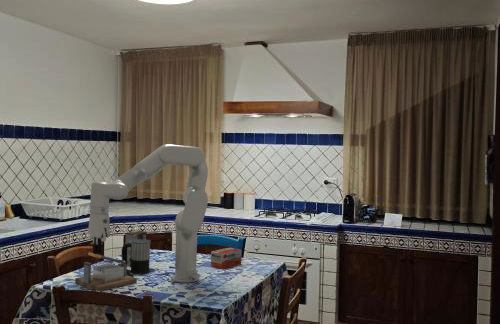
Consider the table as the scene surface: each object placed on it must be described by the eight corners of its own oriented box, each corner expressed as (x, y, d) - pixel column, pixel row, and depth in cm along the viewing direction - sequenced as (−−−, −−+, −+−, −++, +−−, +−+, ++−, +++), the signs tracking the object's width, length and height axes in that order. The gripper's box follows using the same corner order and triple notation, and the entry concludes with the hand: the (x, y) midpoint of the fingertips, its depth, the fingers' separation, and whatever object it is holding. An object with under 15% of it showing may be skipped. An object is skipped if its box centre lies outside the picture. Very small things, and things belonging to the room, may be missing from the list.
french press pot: (139, 261, 255) (139, 230, 255) (146, 263, 251) (147, 231, 251) (124, 264, 248) (125, 232, 248) (132, 266, 244) (132, 234, 244)
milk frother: (150, 269, 240) (151, 238, 239) (149, 277, 224) (149, 245, 224) (120, 269, 238) (121, 238, 237) (116, 278, 222) (117, 245, 222)
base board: (136, 283, 215) (136, 278, 215) (97, 291, 201) (97, 287, 201) (113, 275, 227) (114, 270, 227) (75, 282, 213) (75, 278, 213)
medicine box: (229, 262, 260) (230, 246, 260) (241, 264, 255) (242, 249, 255) (210, 267, 248) (210, 251, 248) (222, 269, 243) (222, 253, 243)
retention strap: (119, 262, 222) (120, 259, 222) (126, 264, 218) (127, 261, 218) (87, 255, 210) (88, 252, 210) (94, 257, 206) (95, 254, 206)
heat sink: (130, 277, 217) (130, 258, 217) (92, 284, 203) (92, 265, 203) (117, 272, 224) (118, 254, 223) (79, 280, 210) (80, 260, 210)
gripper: (116, 212, 208) (114, 255, 208) (98, 208, 218) (96, 249, 218) (100, 213, 202) (98, 257, 203) (82, 208, 212) (80, 251, 213)
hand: (97, 253), depth 210 cm, fingers closed
